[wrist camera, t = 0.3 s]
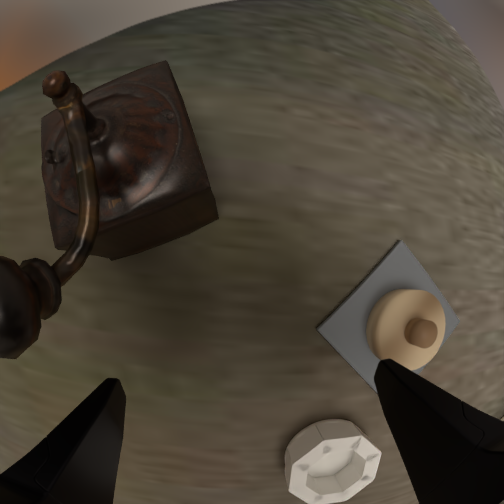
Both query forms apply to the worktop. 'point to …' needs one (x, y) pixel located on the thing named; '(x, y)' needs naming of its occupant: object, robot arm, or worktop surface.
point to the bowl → (330, 462)
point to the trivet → (363, 300)
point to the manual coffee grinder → (106, 187)
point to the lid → (406, 327)
